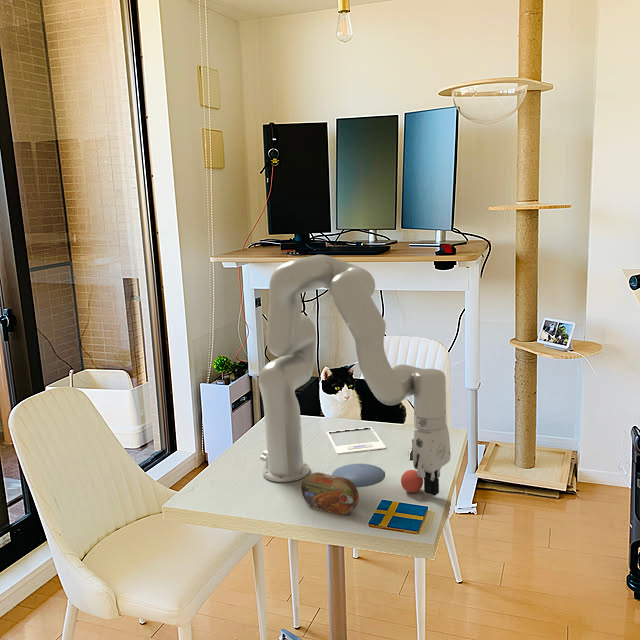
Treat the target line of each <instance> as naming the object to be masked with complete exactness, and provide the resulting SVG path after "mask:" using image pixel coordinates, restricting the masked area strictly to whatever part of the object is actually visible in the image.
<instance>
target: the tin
mask: <svg viewBox="0 0 640 640" xmlns="http://www.w3.org/2000/svg"><path fill="white" fill-rule="evenodd" d="M300 487H301V488H300V489H301V491H300V492H301V494H302V497H303V500H304V501H305V502H306V503H307V505H309V506H310V507H311V508H313V507H315V508H314V509H316V508H318V509H317V510H320V509H322V510H321V511H324V510H325V512H328V511H329V513H332V514H336V515H339V516H340V515H341V516H345V515H346V516H347V515H349V514H350V513H351V512H352V511H353V510H355V509H356V508H357V506H358V504H359V498H360V497H359V490H358V488H357V487H356V486H355V485H354V484H353V483H352V482H351V481H350V480H348V479H346V478H342V477H338V476H333V475H332V474H328V473H323V472H319V471H318V472H314V473H311V474H307V475H306V476H305V477H303V480H302V482H301V484H300ZM312 506H313V507H312Z"/></svg>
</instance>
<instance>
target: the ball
mask: <svg viewBox="0 0 640 640" xmlns="http://www.w3.org/2000/svg"><path fill="white" fill-rule="evenodd" d="M400 478H401V479H400V484H401V487H402V488H403V489H404V491H406V492H408V493H413V494H414V493H417V492H420V490H421V489H422V487H424V478H421V477H418V476H417V469H409V470H406V471H404V473H402V475H401V477H400Z"/></svg>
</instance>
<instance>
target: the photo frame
mask: <svg viewBox="0 0 640 640" xmlns="http://www.w3.org/2000/svg"><path fill="white" fill-rule="evenodd" d="M364 428H368V429H370V431H371V430H372V431H373V430H374V428H373V427H372V426H369V427H358V429H359V430H365V429H364ZM372 428H373V429H372ZM355 429H356V428H348V429H347V430H350V431H356V430H355ZM345 430H346V429H340V430H339V429H338V430H331V431H326V432H325V433H326V435H327V437H328V439H329V441H330V443H331V445H332V446H333V449H334V450H335V453H336V455H337V454H338V455H344V453H345V455H346V454H353V452H355V453H363V452H372V451H379V450H378V449H381V450H385V449H384V448H386V449H387V446H386V445H385V444H384V442H383V441H382V439H381V438H380V437H379V435H378V434H377V432H376V431H375V430H374V431H375V432H374V431H373V432H372V431H371V432H372V434H373V433H374V434H375V435H374V434H373V435H374V437H375V436H376V437H377V438H376V437H375V438H376V440H377V439H378V440H379V441H378V440H377V441H372V442H371V441H369V442H362V443H353V444H352V443H351V444H345V445H336V443H335V442H334V440H333V438H332V435H331V434H330V433H329V432H331V433H337V432H336V431H340V432H346V431H345ZM371 450H372V451H371Z"/></svg>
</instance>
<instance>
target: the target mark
mask: <svg viewBox="0 0 640 640" xmlns="http://www.w3.org/2000/svg"><path fill="white" fill-rule="evenodd" d="M331 475H333V476H338V477H342V478H346V479H348V480H350V481H351V482H352V483H353V484H354V485H355V486H356V488H357V487H359V488H361V487H368V486H373V485H375V484H377V483H379V482H381V481H382V480H384V478H385V470H383V469H382V468H381V467H379V466H377V465H373V464H371V463H370V464H369V463H350V464H346V465H342V466H340V467H338V468H336V469H335V470H334V471H333V472H332V474H331Z"/></svg>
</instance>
